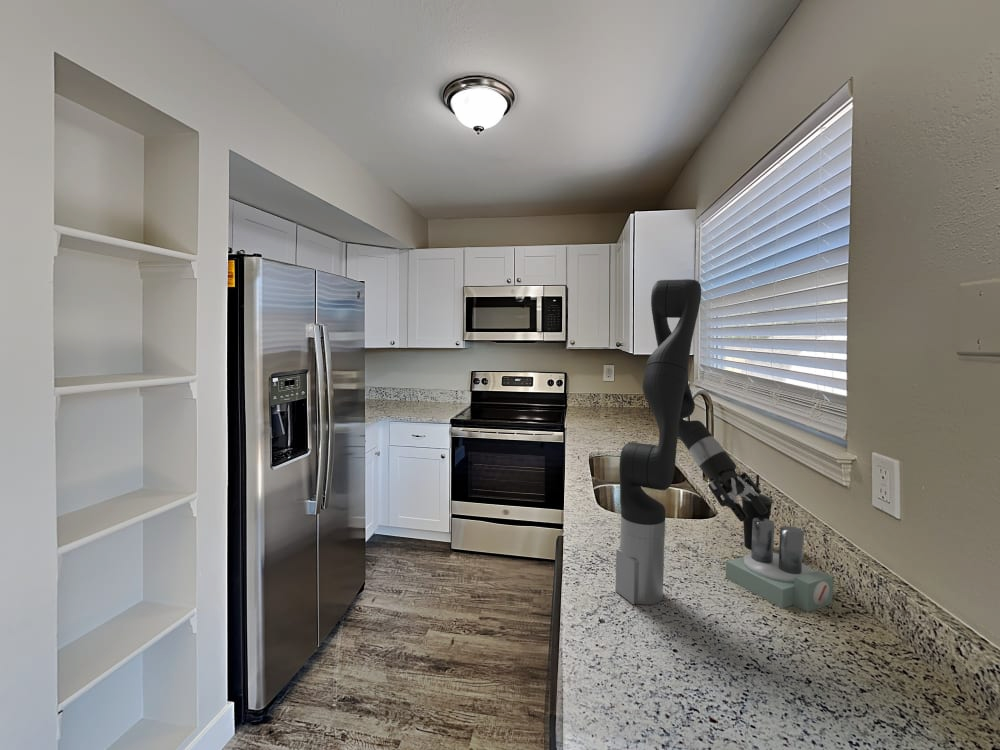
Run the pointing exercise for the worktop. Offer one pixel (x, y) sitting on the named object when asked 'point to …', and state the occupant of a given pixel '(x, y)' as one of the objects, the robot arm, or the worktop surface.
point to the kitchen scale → (782, 583)
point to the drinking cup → (754, 514)
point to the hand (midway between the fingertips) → (755, 516)
